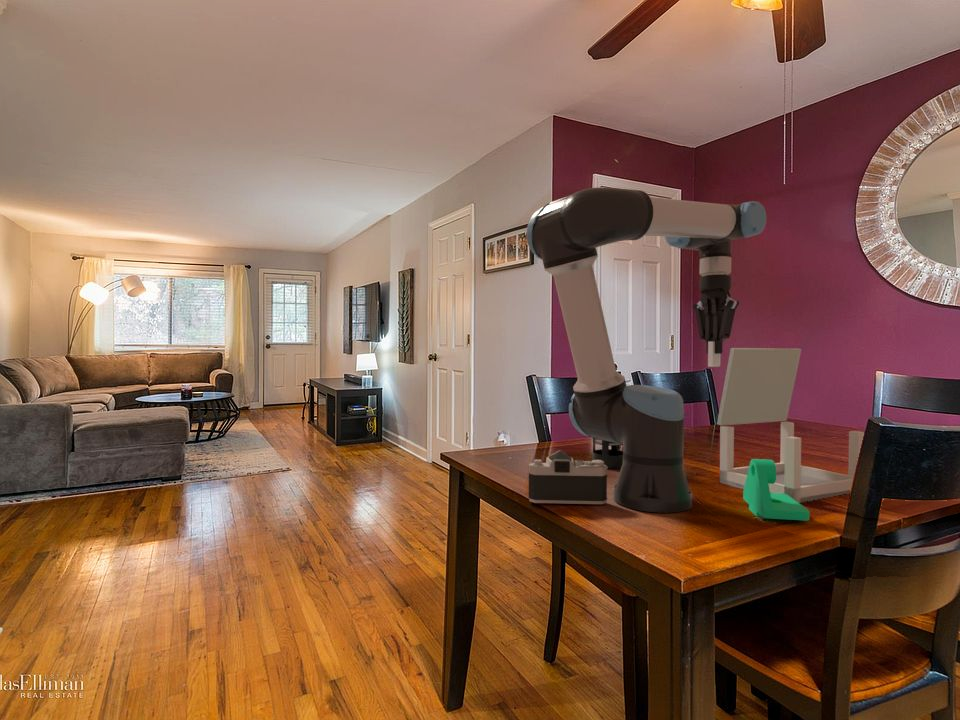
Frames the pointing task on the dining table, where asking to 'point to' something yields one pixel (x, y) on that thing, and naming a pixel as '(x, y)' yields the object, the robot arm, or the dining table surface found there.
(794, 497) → the frame
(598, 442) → the french press
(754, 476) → the camera mount
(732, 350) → the lid
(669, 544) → the dining table surface
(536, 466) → the camera
